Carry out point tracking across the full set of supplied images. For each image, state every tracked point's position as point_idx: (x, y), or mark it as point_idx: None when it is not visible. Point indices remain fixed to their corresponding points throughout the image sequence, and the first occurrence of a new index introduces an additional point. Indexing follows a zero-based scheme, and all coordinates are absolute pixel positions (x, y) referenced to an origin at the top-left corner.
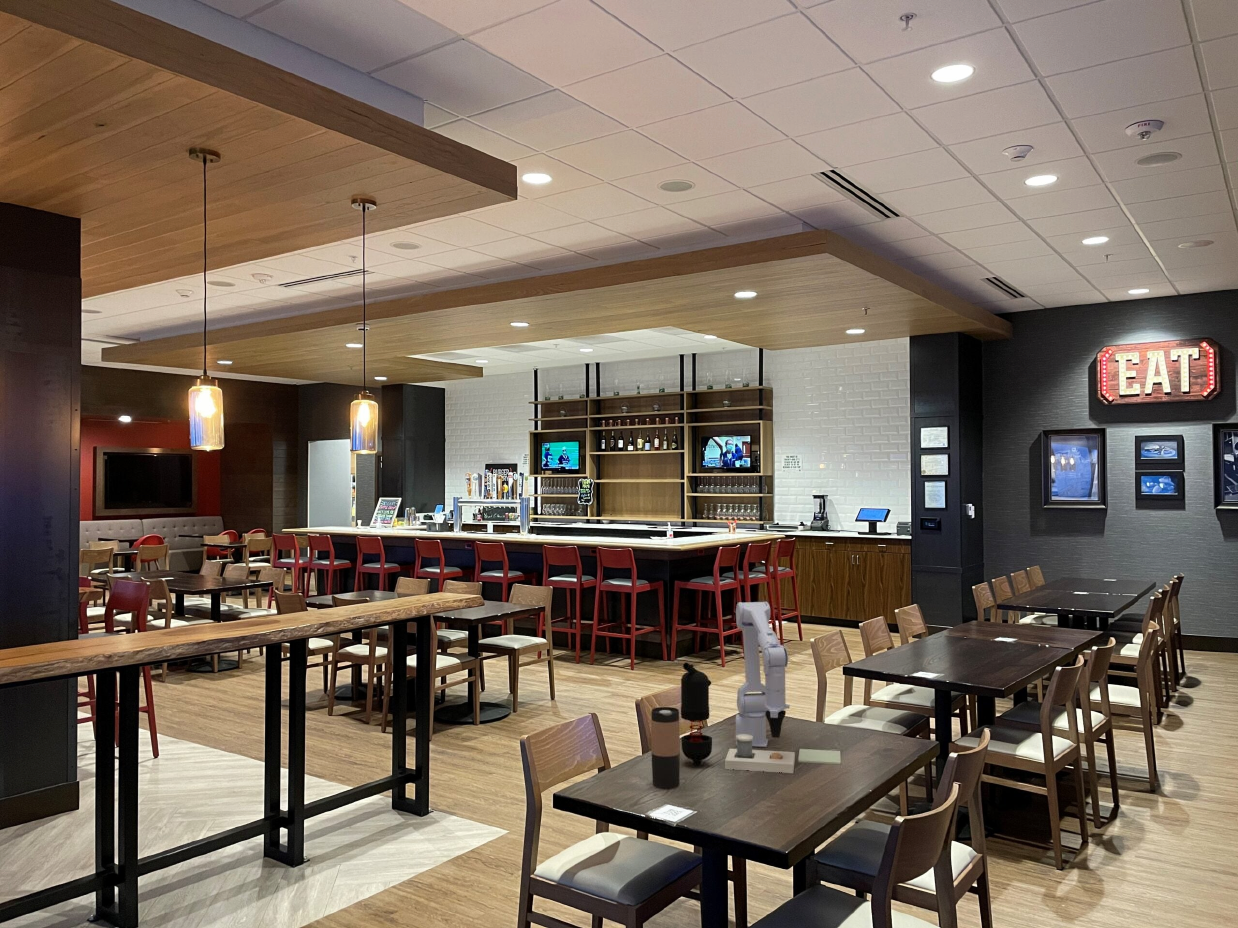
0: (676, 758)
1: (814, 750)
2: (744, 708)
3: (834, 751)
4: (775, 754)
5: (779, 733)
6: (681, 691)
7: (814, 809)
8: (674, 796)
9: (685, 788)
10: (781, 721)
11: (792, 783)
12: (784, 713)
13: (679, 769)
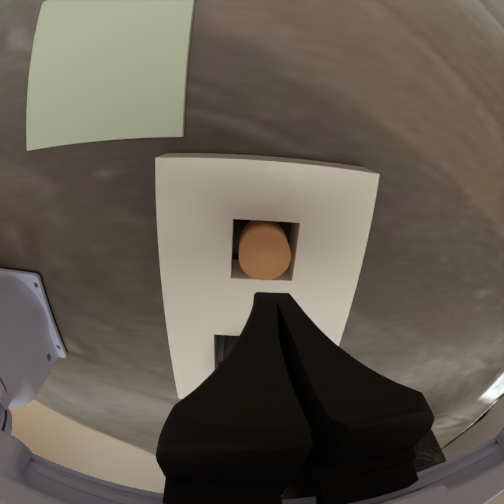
0: (443, 457)
1: (36, 89)
2: (6, 427)
3: (45, 17)
4: (266, 260)
5: (299, 309)
6: None
7: None
8: (458, 403)
9: (431, 405)
10: (371, 376)
11: (462, 185)
12: (303, 433)
13: (424, 439)
